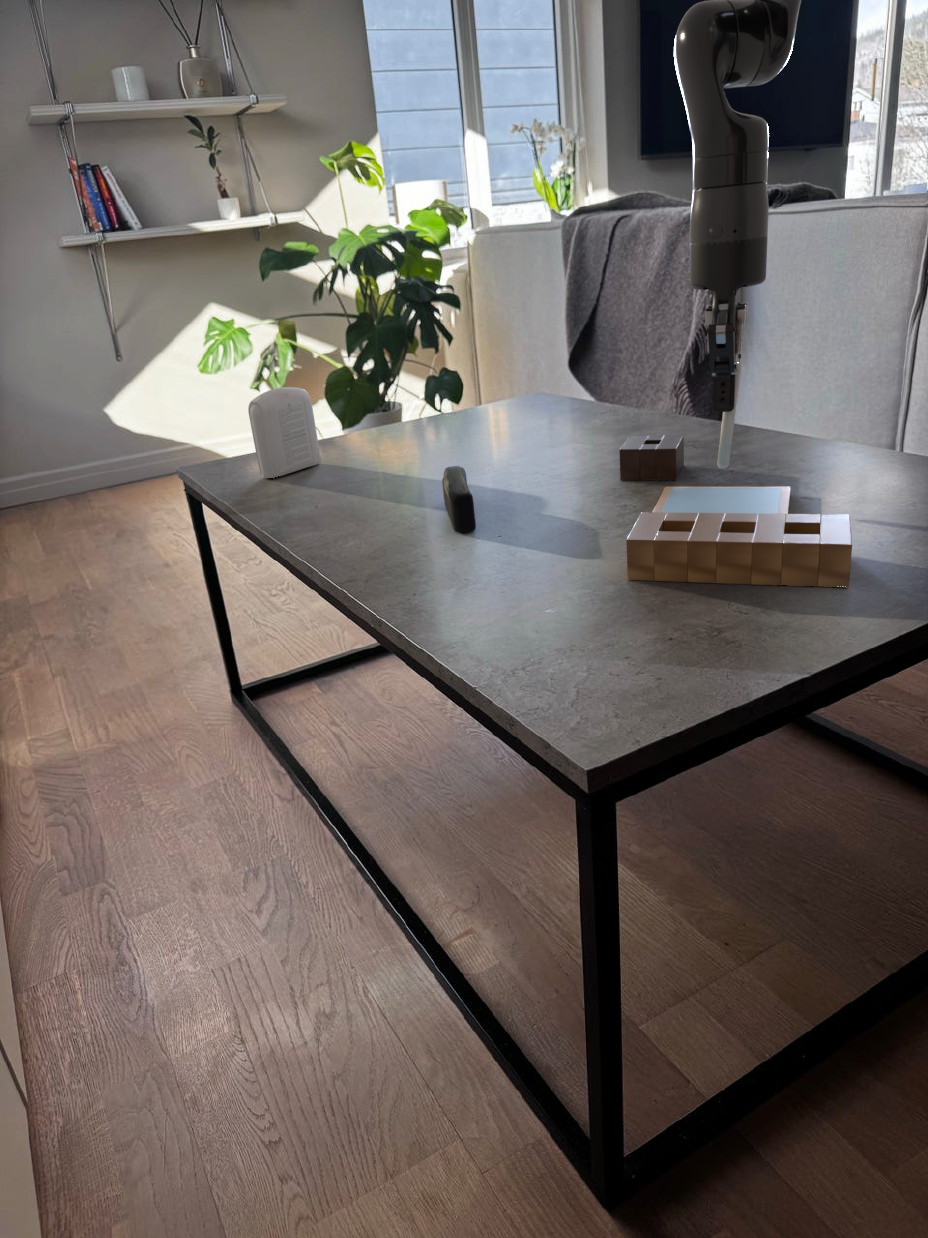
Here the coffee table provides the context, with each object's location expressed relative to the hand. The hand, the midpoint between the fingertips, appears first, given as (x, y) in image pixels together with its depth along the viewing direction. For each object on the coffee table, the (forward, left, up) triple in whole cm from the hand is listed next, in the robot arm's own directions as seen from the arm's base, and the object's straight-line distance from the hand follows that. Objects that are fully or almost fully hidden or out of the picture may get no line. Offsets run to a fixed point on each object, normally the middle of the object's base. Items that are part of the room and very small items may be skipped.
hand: (724, 408), depth 96 cm
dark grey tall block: (+30, +6, -11) cm, 32 cm away
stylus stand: (+10, -12, -11) cm, 19 cm away
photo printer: (+65, -14, -11) cm, 67 cm away
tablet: (0, +6, -11) cm, 12 cm away
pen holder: (-3, +20, -11) cm, 23 cm away
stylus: (0, 0, -7) cm, 7 cm away
